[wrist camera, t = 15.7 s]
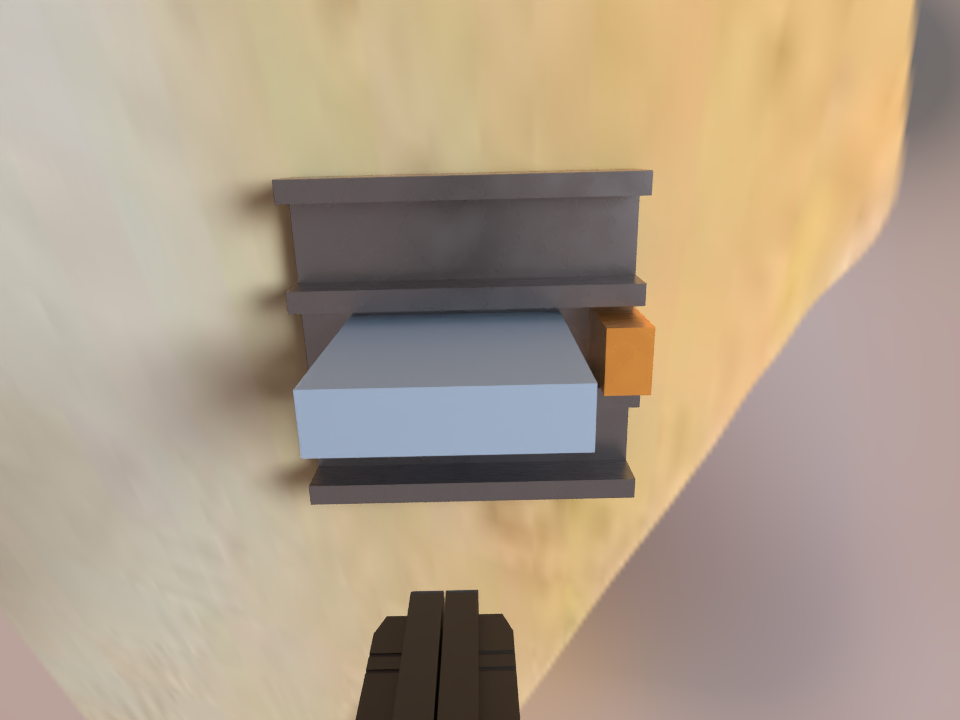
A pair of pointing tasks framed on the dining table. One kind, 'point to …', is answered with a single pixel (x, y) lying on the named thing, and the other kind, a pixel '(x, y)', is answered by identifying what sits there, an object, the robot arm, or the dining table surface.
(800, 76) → the dining table surface
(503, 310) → the rack
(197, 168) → the dining table surface
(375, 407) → the panel
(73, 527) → the dining table surface
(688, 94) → the dining table surface
